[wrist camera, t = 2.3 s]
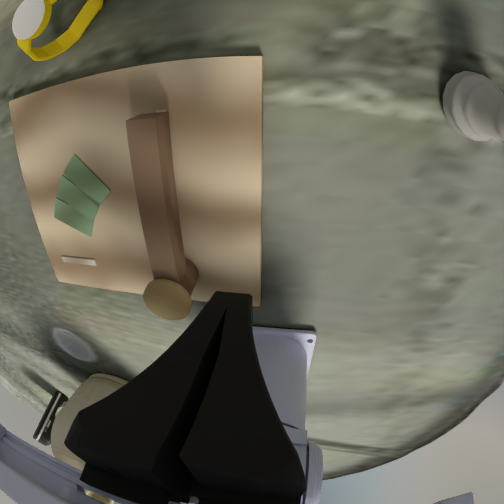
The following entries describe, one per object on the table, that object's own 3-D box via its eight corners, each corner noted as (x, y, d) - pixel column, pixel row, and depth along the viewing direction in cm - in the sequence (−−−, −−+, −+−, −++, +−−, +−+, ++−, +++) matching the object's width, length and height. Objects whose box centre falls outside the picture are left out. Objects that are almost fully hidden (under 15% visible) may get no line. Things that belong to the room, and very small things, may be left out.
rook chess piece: (426, 90, 15) (500, 116, 8) (473, 58, 12) (556, 72, 6) (459, 148, 16) (529, 202, 10) (502, 116, 14) (579, 157, 7)
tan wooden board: (260, 300, 25) (259, 307, 24) (62, 276, 27) (58, 282, 27) (263, 56, 15) (261, 55, 14) (15, 99, 17) (7, 102, 17)
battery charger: (67, 406, 51) (47, 448, 42) (52, 396, 50) (31, 438, 40) (73, 400, 48) (51, 447, 38) (57, 389, 46) (34, 436, 37)
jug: (122, 359, 34) (50, 539, 14) (193, 419, 41) (154, 567, 21) (63, 367, 40) (2, 496, 19) (126, 419, 47) (86, 535, 26)
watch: (100, -21, 12) (48, -39, 7) (124, -5, 13) (73, -23, 8) (51, 46, 15) (-7, 50, 10) (71, 64, 16) (14, 70, 11)
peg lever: (204, 290, 24) (192, 322, 21) (164, 286, 25) (149, 316, 22) (187, 108, 17) (164, 119, 14) (136, 112, 17) (106, 125, 14)
